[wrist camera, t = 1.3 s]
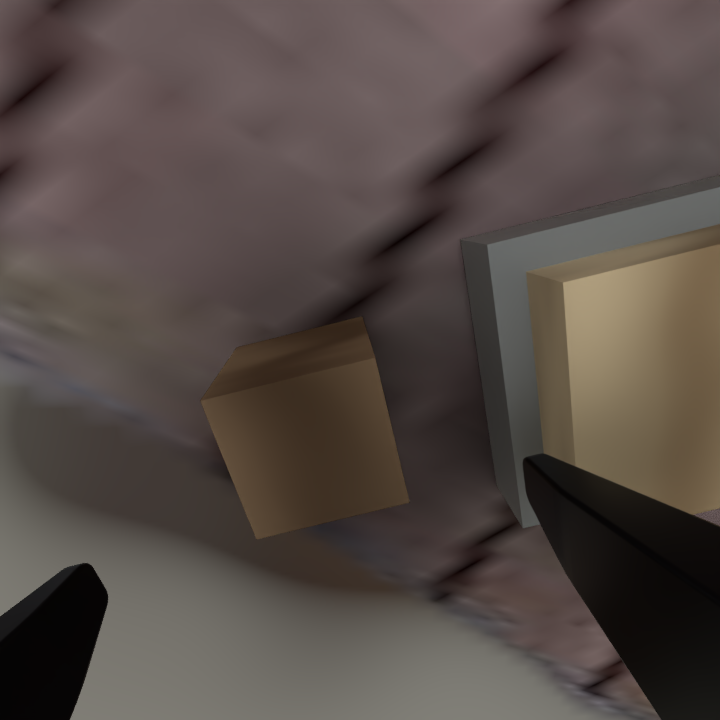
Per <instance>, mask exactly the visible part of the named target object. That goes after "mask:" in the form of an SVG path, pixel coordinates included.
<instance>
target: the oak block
mask: <svg viewBox="0 0 720 720" xmlns="http://www.w3.org/2000/svg"><path fill="white" fill-rule="evenodd" d="M526 277H527V287H528V297H529V307H530V318H531V328H532V338H533V348H534V358H535V369H536V379H537V389H538V399H539V409H540V420H541V430H542V440H543V450H544V454H547V455H550V456H552V457H555V458H557V459H559V460H562V461H564V462H567V463H569V464H571V465H574V466H576V467H579V468H581V469H584V470H586V471H588V472H591V473H593V474H596V475H598V476H600V477H603V478H605V479H608V480H610V481H612V482H615V483H617V484H620V485H622V486H624V487H627V488H629V489H632V490H634V491H636V492H639V493H641V494H644V495H646V496H649V497H651V498H653V499H656V500H658V501H661V502H663V503H665V504H668V505H670V506H673V507H675V508H677V509H680V510H682V511H685V512H687V513H689V514H692V515H693V514H697V513H702V512H706V511H710V510H714V509H718V508H720V224H718V225H714V226H710V227H705V228H701V229H697V230H693V231H689V232H685V233H681V234H677V235H673V236H669V237H665V238H661V239H657V240H653V241H649V242H645V243H641V244H637V245H632V246H628V247H624V248H620V249H616V250H612V251H608V252H604V253H600V254H596V255H592V256H588V257H584V258H580V259H576V260H572V261H568V262H564V263H559V264H555V265H551V266H547V267H543V268H539V269H535V270H531V271H527V272H526Z"/></svg>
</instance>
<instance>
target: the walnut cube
mask: <svg viewBox="0 0 720 720" xmlns="http://www.w3.org/2000/svg"><path fill="white" fill-rule="evenodd" d="M200 402H201V404H202V407H203V409H204V412H205V414H206V416H207V419H208V421H209V424H210V426H211V429H212V431H213V434H214V436H215V439H216V441H217V444H218V446H219V449H220V451H221V453H222V456H223V458H224V461H225V463H226V466H227V468H228V471H229V473H230V476H231V478H232V481H233V483H234V485H235V488H236V490H237V493H238V495H239V498H240V500H241V503H242V505H243V508H244V510H245V513H246V515H247V517H248V520H249V522H250V525H251V527H252V530H253V532H254V535H255V537H256V539H261V538H265V537H269V536H273V535H277V534H282V533H286V532H290V531H294V530H298V529H303V528H307V527H311V526H315V525H319V524H323V523H327V522H331V521H336V520H340V519H344V518H348V517H352V516H356V515H360V514H365V513H369V512H373V511H377V510H381V509H385V508H389V507H394V506H398V505H402V504H406V503H410V502H409V498H408V493H407V489H406V485H405V481H404V477H403V472H402V468H401V464H400V460H399V456H398V451H397V447H396V443H395V439H394V434H393V430H392V426H391V422H390V418H389V413H388V409H387V405H386V401H385V397H384V392H383V388H382V384H381V380H380V376H379V371H378V367H377V363H376V359H375V355H374V352H373V349H372V346H371V343H370V339H369V336H368V333H367V330H366V327H365V324H364V321H363V317H362V316H361V317H357V318H353V319H349V320H345V321H341V322H337V323H333V324H329V325H325V326H321V327H317V328H313V329H309V330H305V331H301V332H297V333H293V334H289V335H285V336H281V337H277V338H273V339H269V340H265V341H261V342H257V343H252V344H248V345H244V346H240V347H237V348H236V349H235V351H234V352H233V354H232V355H231V357H230V358H229V359H228V361H227V362H226V364H225V365H224V367H223V368H222V370H221V371H220V373H219V374H218V376H217V377H216V378H215V380H214V381H213V383H212V384H211V386H210V387H209V389H208V390H207V392H206V393H205V395H204V396H203V397H202V399H201V400H200Z"/></svg>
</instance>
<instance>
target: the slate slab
mask: <svg viewBox="0 0 720 720" xmlns="http://www.w3.org/2000/svg"><path fill="white" fill-rule="evenodd" d="M718 224H720V175H718V176H714V177H710V178H706V179H702V180H698V181H694V182H690V183H686V184H682V185H678V186H674V187H670V188H666V189H662V190H658V191H654V192H650V193H646V194H642V195H638V196H634V197H630V198H626V199H622V200H618V201H614V202H609V203H605V204H601V205H597V206H593V207H589V208H585V209H581V210H577V211H573V212H569V213H565V214H561V215H557V216H553V217H549V218H545V219H541V220H537V221H533V222H529V223H525V224H521V225H517V226H513V227H509V228H505V229H501V230H497V231H493V232H488V233H484V234H480V235H476V236H472V237H468V238H464V239H460V240H461V247H462V254H463V261H464V267H465V274H466V281H467V288H468V295H469V301H470V308H471V315H472V322H473V329H474V335H475V342H476V349H477V356H478V363H479V369H480V376H481V383H482V390H483V397H484V403H485V410H486V417H487V424H488V431H489V437H490V444H491V451H492V458H493V465H494V472H495V478H496V485H497V487H498V489H499V490H500V492H501V493H502V495H503V497H504V498H505V500H506V502H507V503H508V505H509V506H510V508H511V510H512V511H513V513H514V515H515V516H516V518H517V519H518V521H519V523H520V524H521V526H522V528H526V527H530V526H535V525H539V524H540V523H539V521H538V519H537V517H536V515H535V513H534V511H533V509H532V507H531V505H530V503H529V501H528V498H527V495H526V490H525V481H524V473H523V459H524V458H525V457H527V456H532V455H536V454H540V453H544V450H543V440H542V430H541V420H540V409H539V399H538V389H537V379H536V369H535V358H534V348H533V338H532V328H531V318H530V307H529V297H528V287H527V277H526V272H527V271H531V270H535V269H539V268H543V267H547V266H551V265H555V264H559V263H564V262H568V261H572V260H576V259H580V258H584V257H588V256H592V255H596V254H600V253H604V252H608V251H612V250H616V249H620V248H624V247H628V246H632V245H637V244H641V243H645V242H649V241H653V240H657V239H661V238H665V237H669V236H673V235H677V234H681V233H685V232H689V231H693V230H697V229H701V228H705V227H710V226H714V225H718Z"/></svg>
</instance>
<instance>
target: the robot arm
mask: <svg viewBox="0 0 720 720" xmlns="http://www.w3.org/2000/svg"><path fill="white" fill-rule="evenodd" d="M523 473H524V481H525V490H526V495H527V498H528V501H529V503H530V505H531V507H532V509H533V511H534V513H535V515H536V517H537V519H538V521H539V523H540V524H541V526H542V528H543V530H544V532H545V534H546V536H547V538H548V540H549V542H550V544H551V546H552V548H553V550H554V552H555V554H556V556H557V558H558V560H559V561H560V563H561V565H562V567H563V569H564V571H565V573H566V574H567V576H568V578H569V579H570V581H571V582H572V584H573V586H574V587H575V589H576V590H577V592H578V593H579V595H580V596H581V598H582V599H583V601H584V602H585V604H586V605H587V607H588V608H589V610H590V612H591V613H592V615H593V616H594V618H595V619H596V621H597V622H598V624H599V625H600V627H601V628H602V630H603V631H604V633H605V634H606V636H607V638H608V639H609V641H610V642H611V644H612V645H613V647H614V648H615V650H616V651H617V653H618V654H619V656H620V657H621V659H622V660H623V662H624V663H625V665H626V667H627V668H628V670H629V671H630V673H631V674H632V676H633V677H634V679H635V680H636V682H637V683H638V685H639V686H640V688H641V689H642V691H643V692H644V694H645V696H646V697H647V699H648V700H649V702H650V703H651V705H652V706H653V708H654V709H655V711H656V712H657V714H658V715H659V717H660V718H661V720H720V526H718V525H716V524H714V523H711V522H709V521H706V520H704V519H702V518H699V517H697V516H694V515H692V514H689V513H687V512H685V511H682V510H680V509H677V508H675V507H673V506H670V505H668V504H665V503H663V502H661V501H658V500H656V499H653V498H651V497H649V496H646V495H644V494H641V493H639V492H636V491H634V490H632V489H629V488H627V487H624V486H622V485H620V484H617V483H615V482H612V481H610V480H608V479H605V478H603V477H600V476H598V475H596V474H593V473H591V472H588V471H586V470H584V469H581V468H579V467H576V466H574V465H571V464H569V463H567V462H564V461H562V460H559V459H557V458H555V457H552V456H550V455H547V454H544V453H540V454H536V455H532V456H527V457H525V458H524V459H523ZM107 603H108V594H107V591H106V589H105V587H104V585H103V584H102V582H101V580H100V578H99V577H98V575H97V573H96V572H95V570H94V568H93V567H92V566H91V565H90V564H88V563H82V564H78V565H74V566H70V567H67V568H64V569H63V570H62V571H60V572H59V573H58V574H56V575H55V576H54V577H52V578H51V579H50V580H48V581H47V582H46V583H44V584H43V585H42V586H40V587H39V588H38V589H36V590H35V591H34V592H32V593H31V594H30V595H28V596H27V597H26V598H24V599H23V600H22V601H20V602H19V603H18V604H16V605H15V606H14V607H12V608H11V609H10V610H8V611H7V612H6V613H4V614H3V615H2V616H0V720H70V718H71V716H72V713H73V711H74V708H75V705H76V703H77V700H78V698H79V695H80V692H81V689H82V686H83V683H84V680H85V677H86V674H87V670H88V668H89V664H90V661H91V658H92V654H93V651H94V648H95V644H96V641H97V637H98V634H99V631H100V628H101V624H102V621H103V618H104V614H105V611H106V608H107Z"/></svg>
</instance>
